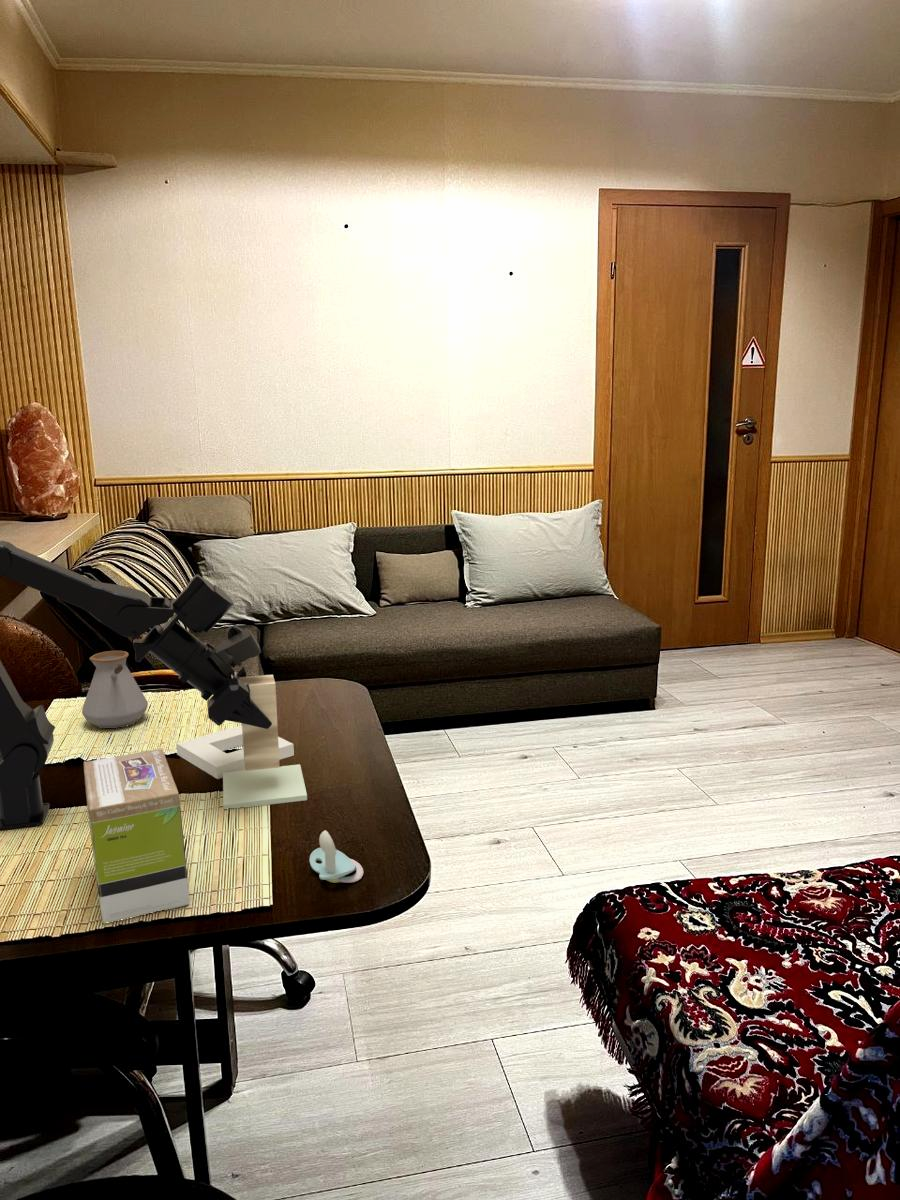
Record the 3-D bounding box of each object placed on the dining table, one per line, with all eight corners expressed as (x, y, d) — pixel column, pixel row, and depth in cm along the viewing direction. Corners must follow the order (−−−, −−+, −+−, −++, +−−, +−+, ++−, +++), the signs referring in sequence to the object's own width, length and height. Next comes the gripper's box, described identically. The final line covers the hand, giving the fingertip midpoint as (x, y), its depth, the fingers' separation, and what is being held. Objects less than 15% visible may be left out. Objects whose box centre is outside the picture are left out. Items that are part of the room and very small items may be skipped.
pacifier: (349, 857, 119) (305, 868, 116) (349, 812, 117) (304, 822, 115) (372, 883, 112) (326, 894, 110) (372, 836, 111) (325, 846, 108)
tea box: (93, 867, 117) (81, 758, 114) (174, 850, 121) (165, 745, 118) (101, 927, 103) (87, 806, 100) (192, 907, 107) (182, 789, 104)
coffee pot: (80, 717, 172) (72, 640, 169) (144, 707, 177) (137, 632, 174) (92, 756, 153) (83, 670, 150) (163, 743, 158) (155, 660, 155)
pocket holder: (294, 755, 152) (293, 744, 152) (217, 779, 143) (216, 767, 143) (251, 733, 162) (250, 722, 162) (177, 754, 153) (176, 743, 153)
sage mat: (307, 800, 135) (306, 795, 135) (223, 809, 132) (223, 804, 132) (300, 768, 147) (300, 764, 146) (223, 777, 144) (222, 772, 144)
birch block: (279, 767, 137) (275, 683, 134) (245, 771, 135) (240, 686, 133) (277, 755, 141) (272, 674, 139) (243, 759, 140) (239, 677, 138)
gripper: (227, 629, 124) (313, 699, 129) (222, 601, 141) (297, 663, 146) (171, 690, 123) (259, 758, 129) (173, 654, 141) (250, 715, 146)
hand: (268, 720), depth 137 cm, fingers closed on birch block, 5 cm apart
